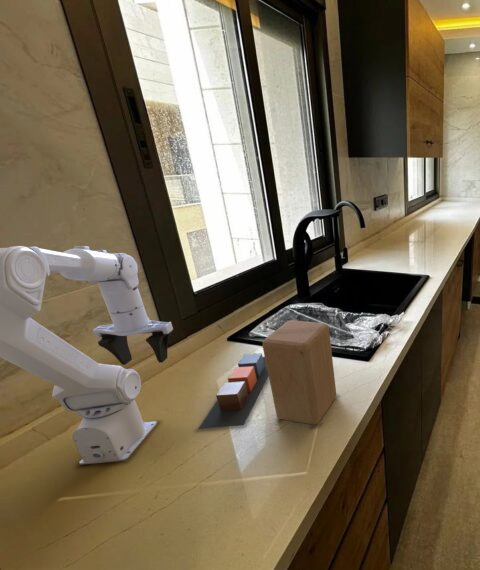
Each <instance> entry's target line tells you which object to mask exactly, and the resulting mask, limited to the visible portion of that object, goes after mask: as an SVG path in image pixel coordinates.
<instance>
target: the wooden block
mask: <svg viewBox="0 0 480 570" xmlns="http://www.w3.org/2000/svg"><path fill="white" fill-rule="evenodd" d="M262 351H263V357H265V361H266V365H267V370H268V375H269V377H268V381H269V385H270V389H271V395H272V400H273V405H274V409H275V415H276V417H277V418H278V419H279V420H282V421H283V420H284V421H288V422H295V423H301V424H307V425H311V426H315V425H318V424H319V423H320V421H321V420H322V419H323V417H324V415H325V414H326V413H327V411H328V410H329V408H330V406H331V405H332V404H333V402H334V400H335V399H336V397H337V386H336V378H335V369H334V362H333V361H334V360H333V353H332V352H333V351H332V343H331V334H330V327H329V325H328V324H327V323H325V322H324V323H323V322H315V321H314V322H313V321H305V320H296V319H290V320H287V321H286V322H285V323H282V325H280V326H279V327H278V328H277V329H275V330H274V331H273V332H272V333H270V334H269V335H268V336H266V338H264V339H263V341H262Z"/></svg>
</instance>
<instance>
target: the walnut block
mask: <svg viewBox="0 0 480 570" xmlns="http://www.w3.org/2000/svg"><path fill="white" fill-rule="evenodd" d="M215 397H216V402H217V401H218V404H219V408H220V411H230V410H241V409H242V407H243V405H244V404H245V402H246V400H247V398H248V393H247V388H246V384H245V381H243V382H224V383H223V385H222V386H221V388H220V389H219V390H218V392H217V394H216V395H215Z"/></svg>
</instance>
